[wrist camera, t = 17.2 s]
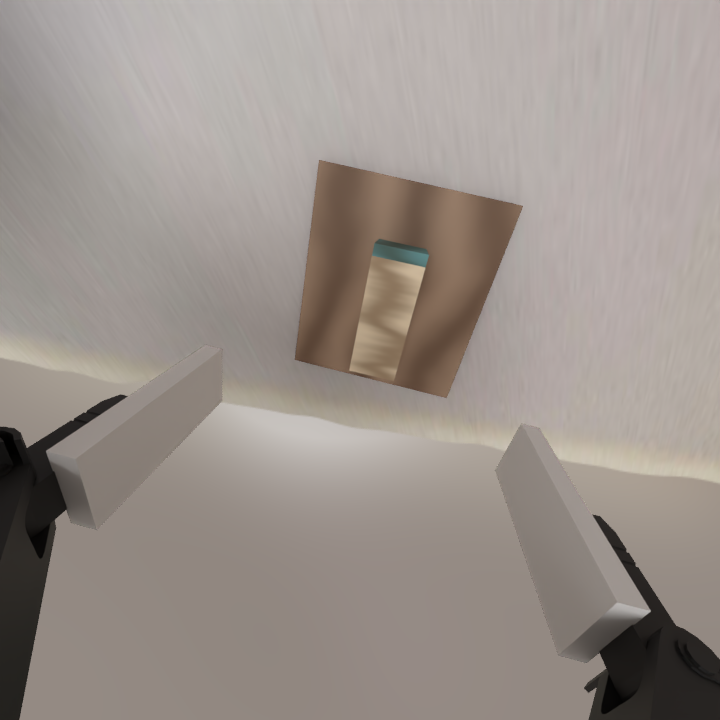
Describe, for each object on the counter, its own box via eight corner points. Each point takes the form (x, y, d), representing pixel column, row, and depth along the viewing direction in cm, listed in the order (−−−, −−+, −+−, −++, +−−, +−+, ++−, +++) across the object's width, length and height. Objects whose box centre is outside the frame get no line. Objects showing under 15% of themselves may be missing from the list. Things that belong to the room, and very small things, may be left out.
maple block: (395, 361, 34) (426, 249, 29) (393, 381, 30) (429, 255, 25) (356, 352, 34) (379, 238, 29) (349, 370, 30) (374, 243, 25)
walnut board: (297, 356, 37) (294, 359, 36) (322, 161, 28) (319, 159, 27) (445, 393, 36) (446, 397, 35) (519, 206, 27) (523, 205, 26)
